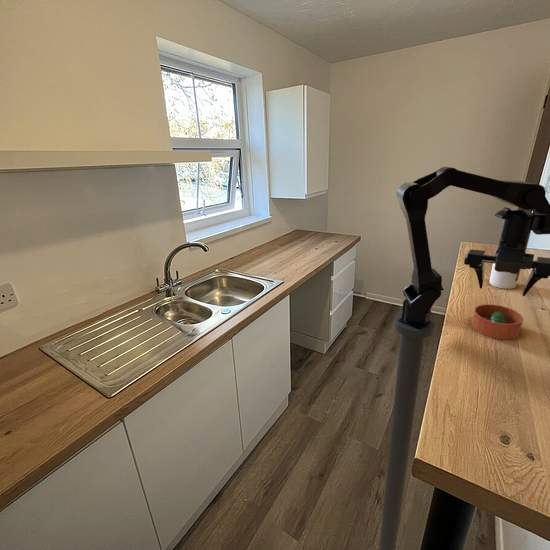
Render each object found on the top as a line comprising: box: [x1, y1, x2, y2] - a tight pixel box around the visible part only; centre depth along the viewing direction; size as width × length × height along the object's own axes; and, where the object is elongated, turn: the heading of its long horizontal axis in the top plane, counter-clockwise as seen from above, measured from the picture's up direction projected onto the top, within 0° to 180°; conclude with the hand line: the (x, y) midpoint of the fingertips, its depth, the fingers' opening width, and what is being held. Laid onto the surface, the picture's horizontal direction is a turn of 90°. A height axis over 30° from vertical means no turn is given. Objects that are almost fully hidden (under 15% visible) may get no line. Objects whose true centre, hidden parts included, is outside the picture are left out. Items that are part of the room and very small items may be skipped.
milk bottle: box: [489, 263, 521, 290], centre depth 102 cm, size 8×8×20 cm
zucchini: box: [490, 312, 507, 324], centre depth 82 cm, size 8×4×4 cm, turn 142°
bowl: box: [471, 303, 524, 340], centre depth 82 cm, size 11×11×4 cm
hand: (501, 291), depth 80 cm, fingers open, 9 cm apart
